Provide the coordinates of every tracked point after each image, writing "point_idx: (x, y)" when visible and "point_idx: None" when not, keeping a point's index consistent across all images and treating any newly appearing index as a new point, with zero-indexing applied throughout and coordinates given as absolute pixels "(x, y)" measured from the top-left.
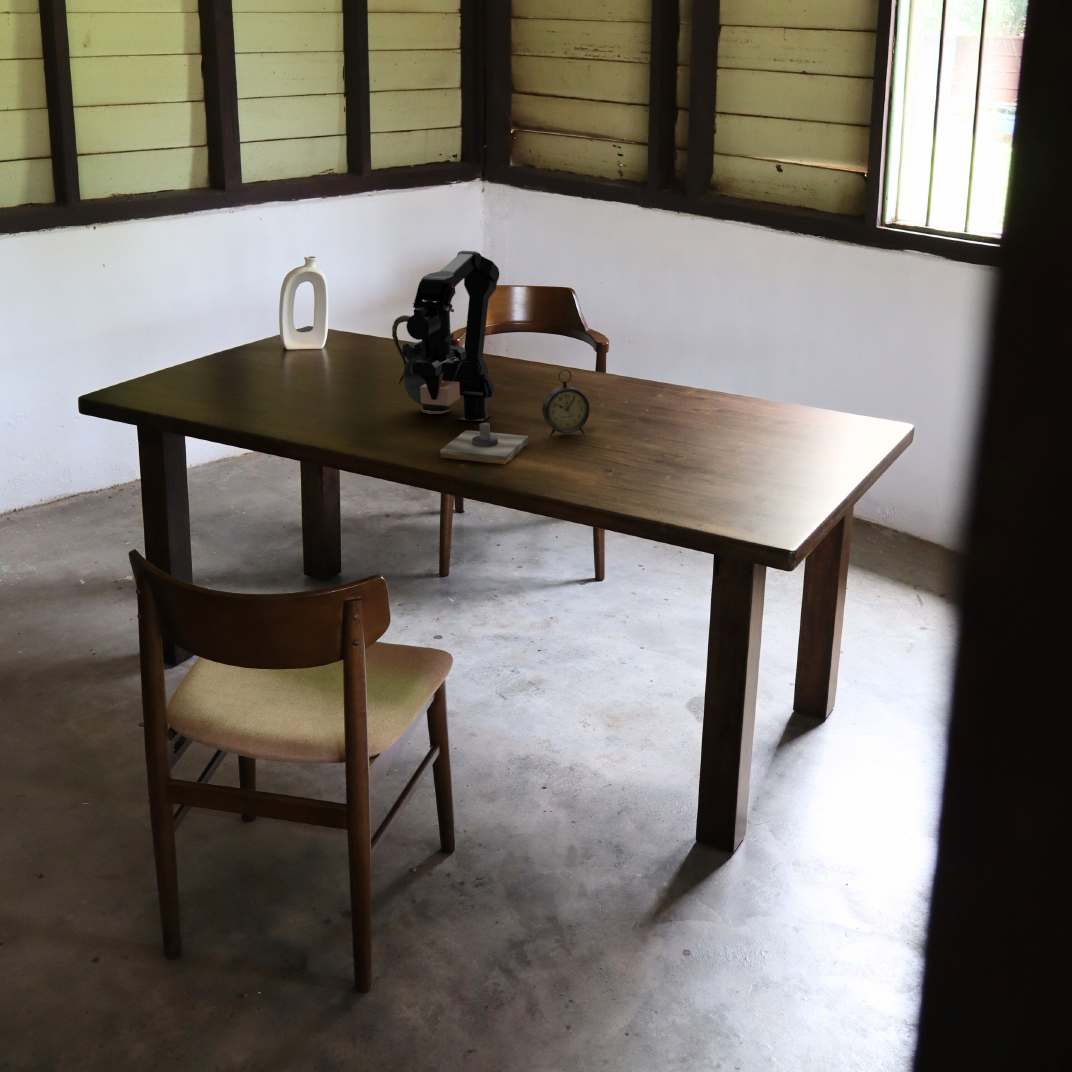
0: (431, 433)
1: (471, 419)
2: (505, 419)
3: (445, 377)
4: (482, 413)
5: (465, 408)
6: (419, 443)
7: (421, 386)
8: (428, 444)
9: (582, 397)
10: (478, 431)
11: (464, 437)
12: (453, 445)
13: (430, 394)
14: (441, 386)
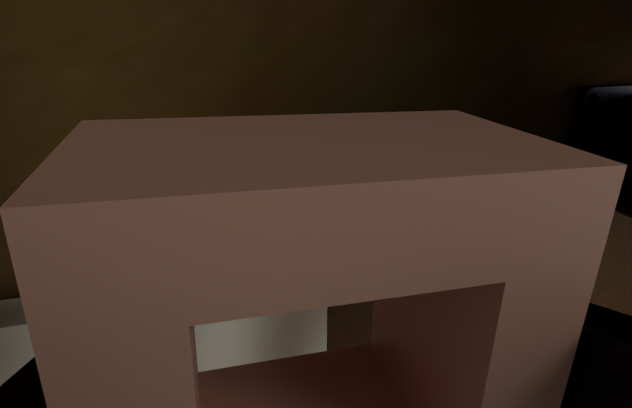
0: (339, 33)
1: None
2: (606, 274)
3: (623, 406)
4: (615, 210)
5: (622, 150)
6: (114, 48)
7: (43, 225)
8: (122, 116)
9: None
10: (325, 343)
11: (196, 337)
12: (16, 363)
13: (19, 381)
14: (448, 327)
